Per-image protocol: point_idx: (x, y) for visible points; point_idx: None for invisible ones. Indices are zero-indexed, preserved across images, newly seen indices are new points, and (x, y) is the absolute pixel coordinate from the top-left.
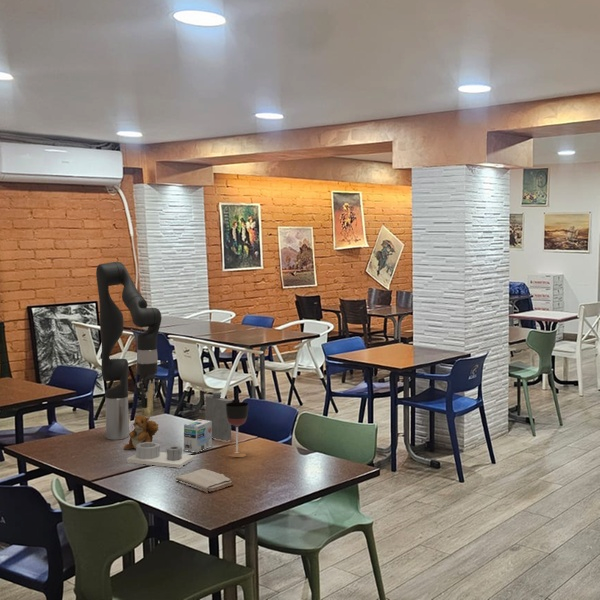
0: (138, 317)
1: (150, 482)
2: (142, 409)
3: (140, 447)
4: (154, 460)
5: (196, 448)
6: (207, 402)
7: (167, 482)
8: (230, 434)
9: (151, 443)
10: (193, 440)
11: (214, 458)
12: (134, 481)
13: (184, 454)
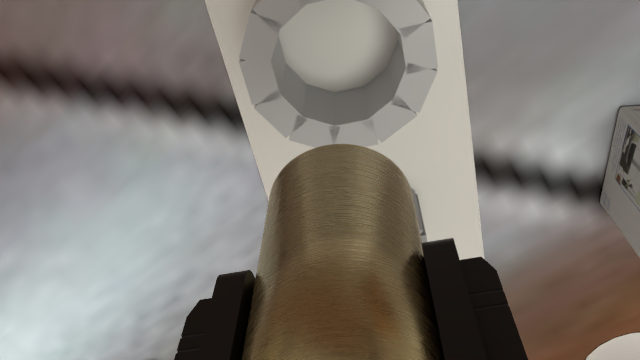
0: None
1: (57, 291)
2: (265, 232)
3: (253, 59)
4: (276, 145)
5: (611, 215)
6: None
7: (113, 342)
8: None
9: (402, 47)
10: (638, 226)
11: (540, 316)
12: (7, 228)
13: (477, 214)
